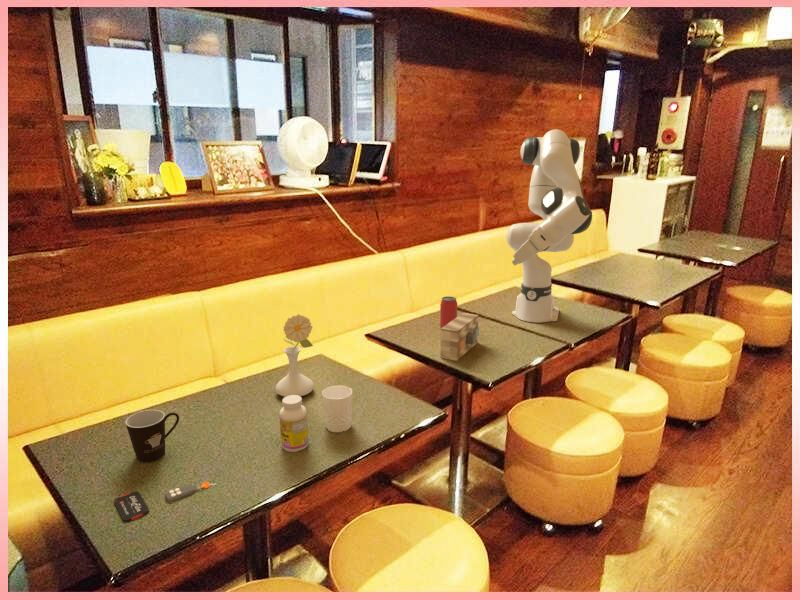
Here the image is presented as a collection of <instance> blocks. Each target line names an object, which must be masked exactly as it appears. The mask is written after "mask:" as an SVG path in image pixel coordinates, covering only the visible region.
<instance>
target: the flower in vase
mask: <svg viewBox="0 0 800 600" xmlns="http://www.w3.org/2000/svg"><path fill="white" fill-rule="evenodd" d="M312 330H313V325H312V322H311V320H310V318H308V317H307V316H306V315H301V314H300V313H299V314H296V315H292V316H291V317H288V318H287V321H285V323H284V326H283V331H284V335H285V338H286V339H285V338H284V337H283V338H282V339H283V341H284V342H286V343H287V344H290V345H292V346H287V347H285V348H283V352H284V353H285V354H286V356H287V358H288V362H289V363H288V365H289V371H288V373H287V375H286V376H284V377H283V378H281V379H280V380H278V382H277V383H276V386H275V389H274V390H275V392H276V393H277V394H278V395H280V396H281V397H283V398H284V397H286V396H289V395H298V396H300V397H303V396H306V395H308V394H310V393H311V392H312V391H313V390H314V389H315V383H314V382H313V381H312V380H311V379H310V378H309V377H307V376H306V375H304V374H302V373H300V371H299V369H298V357H299V354H300V352H301V350H302V348H305V349H306V348H311V347H313V346H314V345H313V344H312V342H311V341H310V340H309V339H308V338H309V336H310V334H311V332H312ZM293 342H294V343H293ZM295 343H296V344H295ZM299 344H300V346H301V347H302V348H301V347H299V346H298V345H299Z"/></svg>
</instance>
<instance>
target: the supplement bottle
mask: <svg viewBox="0 0 800 600" xmlns="http://www.w3.org/2000/svg"><path fill="white" fill-rule="evenodd" d="M281 403H282V406H283V407H281V409H280V410H279V413H278V415H279V416H278V417H279V427H280V428H279V429H280V443H281V448H282V449H283V450H284V451H285V452H290V453H292V452H293V453H296V452H300V451H302V450H304V449H306V448H307V447H308V445H309V430H308V411H307V408H306V407H305V406H304V405H302V404H303V398H302V396H298V395H289V396H286V397H284V396H283V398H282V401H281Z"/></svg>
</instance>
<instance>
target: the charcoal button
mask: <svg viewBox="0 0 800 600" xmlns="http://www.w3.org/2000/svg"><path fill="white" fill-rule="evenodd" d="M475 342H476V334H474V333H468V334H467V335H466V344H471V345H473V344H474V343H475Z"/></svg>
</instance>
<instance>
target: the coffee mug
mask: <svg viewBox="0 0 800 600" xmlns="http://www.w3.org/2000/svg"><path fill="white" fill-rule="evenodd" d="M171 416H175V417H176V421H175V422H174V424H173V425H172V427H171V428H170V430H168V432H167V433H166V420H168V418H169V417H171ZM179 421H180V416H179V414H178V413H176V412H169V413H167V414H166V413H165V412H164V411H162V410H160V409H145V410H141V411H137V412H135V413H133V414H131V415H130V416H128V417H127V418H125V422H124V423H125V427H126V430H127V432H128V436H129V438H130V443H131V445H132V449H133V451H134V453H135V454H134V455H135V457H136V460H137V462H139V463H141V464H142V463H143V464H145V463H153V462H156V461H158V460H160V459H162V458H163V457H164V456H165V455H166V438H168V437H169V436H170V435H171V433H173V431H174V430H175V429H176V427H177V425H178V423H179Z"/></svg>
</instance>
